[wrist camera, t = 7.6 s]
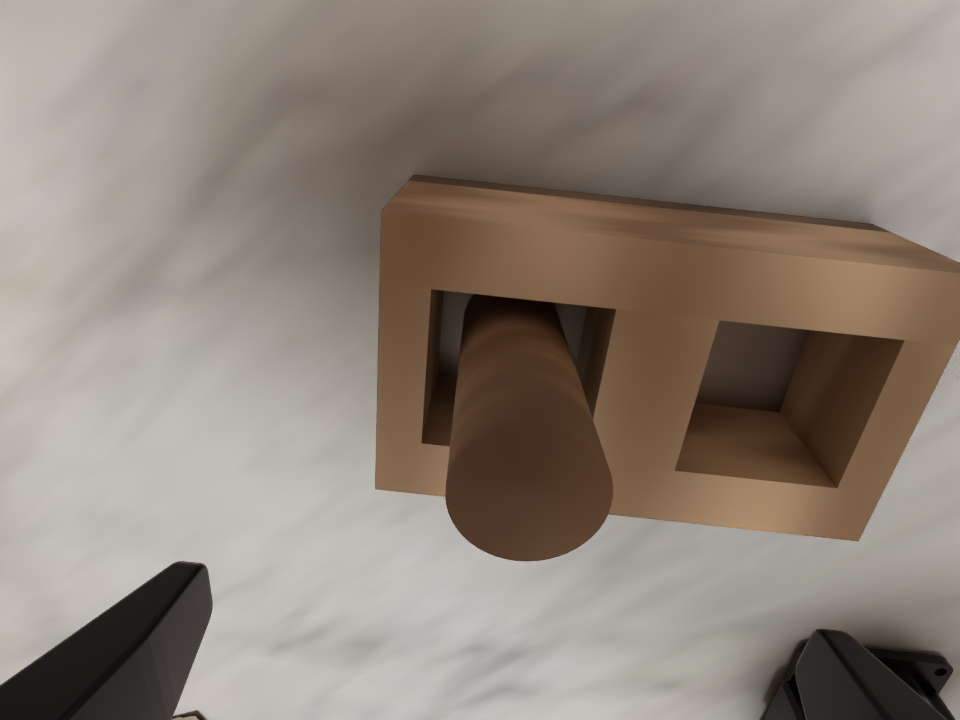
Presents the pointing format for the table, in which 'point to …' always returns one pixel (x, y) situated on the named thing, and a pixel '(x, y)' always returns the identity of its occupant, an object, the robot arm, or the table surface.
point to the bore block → (676, 345)
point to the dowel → (523, 436)
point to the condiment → (187, 718)
